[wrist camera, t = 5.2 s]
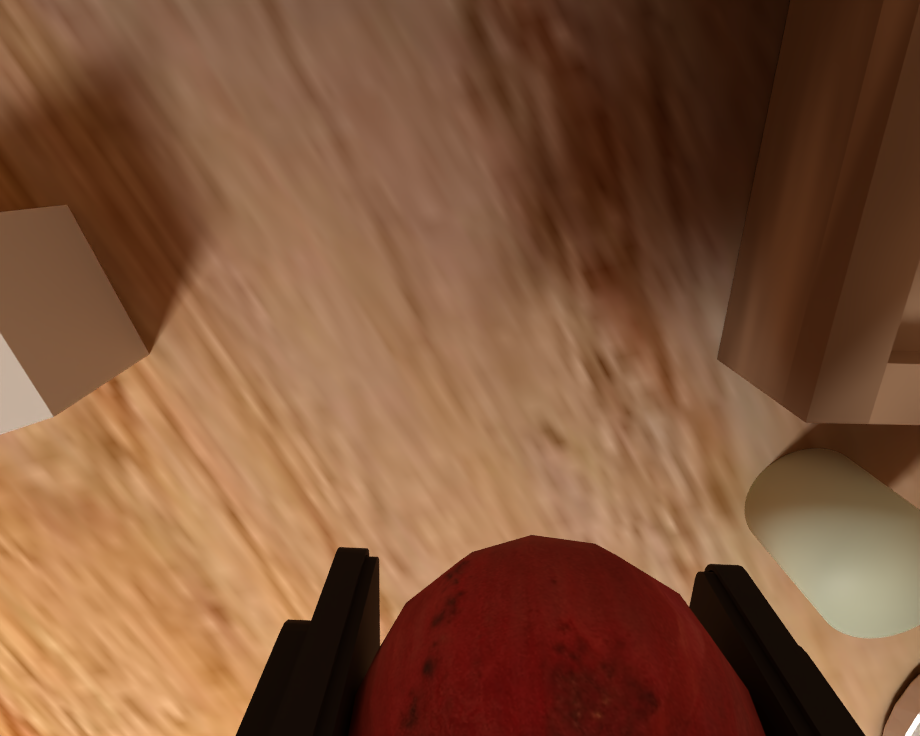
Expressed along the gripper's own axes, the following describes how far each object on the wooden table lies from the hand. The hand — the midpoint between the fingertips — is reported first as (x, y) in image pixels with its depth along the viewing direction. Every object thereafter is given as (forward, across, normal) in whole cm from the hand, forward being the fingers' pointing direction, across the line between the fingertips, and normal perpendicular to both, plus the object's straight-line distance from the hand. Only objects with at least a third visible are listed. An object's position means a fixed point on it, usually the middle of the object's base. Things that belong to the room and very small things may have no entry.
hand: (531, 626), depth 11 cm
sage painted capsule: (+9, -10, +2) cm, 14 cm away
